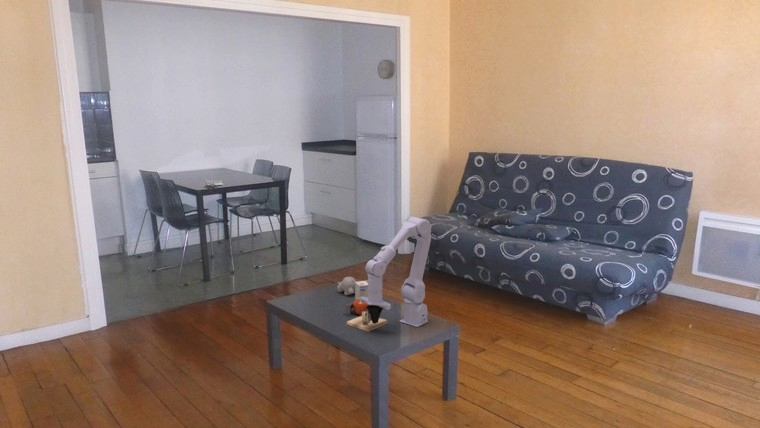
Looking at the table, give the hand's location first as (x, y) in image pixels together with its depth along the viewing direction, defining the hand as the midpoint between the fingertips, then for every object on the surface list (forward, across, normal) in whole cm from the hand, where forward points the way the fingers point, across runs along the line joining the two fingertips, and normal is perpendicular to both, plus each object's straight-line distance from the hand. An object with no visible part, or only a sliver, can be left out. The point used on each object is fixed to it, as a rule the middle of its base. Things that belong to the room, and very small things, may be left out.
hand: (375, 322), depth 228 cm
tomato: (+3, -17, +11) cm, 21 cm away
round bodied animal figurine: (+4, -41, +27) cm, 49 cm away
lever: (+2, -8, +6) cm, 10 cm away
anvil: (+3, -21, +8) cm, 23 cm away
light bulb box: (+4, -22, +22) cm, 31 cm away
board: (+3, -8, +4) cm, 9 cm away
